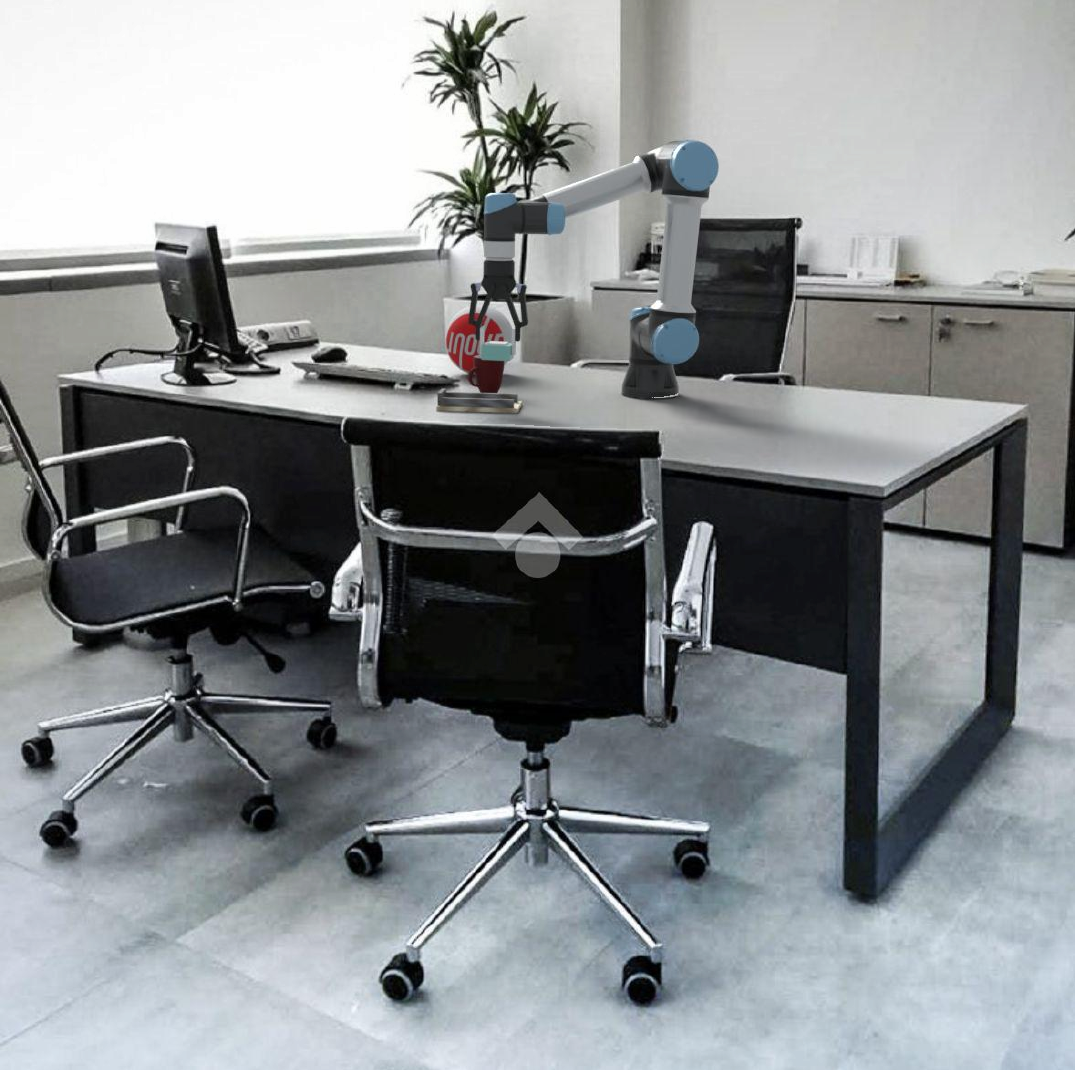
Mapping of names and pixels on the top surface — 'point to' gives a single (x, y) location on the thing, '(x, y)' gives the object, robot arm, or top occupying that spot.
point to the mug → (486, 374)
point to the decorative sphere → (474, 335)
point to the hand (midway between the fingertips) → (497, 354)
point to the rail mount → (477, 402)
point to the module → (497, 351)
